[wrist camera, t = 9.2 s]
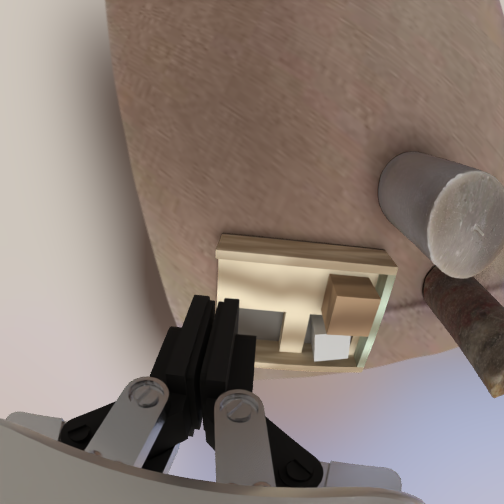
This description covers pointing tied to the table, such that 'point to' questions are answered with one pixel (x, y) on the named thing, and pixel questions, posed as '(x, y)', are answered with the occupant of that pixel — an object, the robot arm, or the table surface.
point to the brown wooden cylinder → (471, 323)
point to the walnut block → (349, 305)
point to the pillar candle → (445, 211)
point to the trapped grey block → (327, 342)
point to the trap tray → (295, 295)
